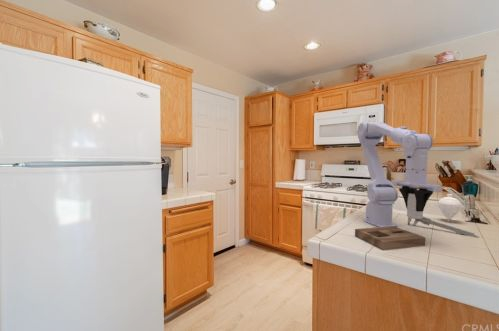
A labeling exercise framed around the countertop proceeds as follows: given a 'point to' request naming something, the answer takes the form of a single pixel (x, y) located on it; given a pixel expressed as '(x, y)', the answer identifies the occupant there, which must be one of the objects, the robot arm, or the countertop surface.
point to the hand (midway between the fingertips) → (414, 209)
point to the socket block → (390, 237)
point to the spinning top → (449, 206)
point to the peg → (413, 207)
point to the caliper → (429, 221)
